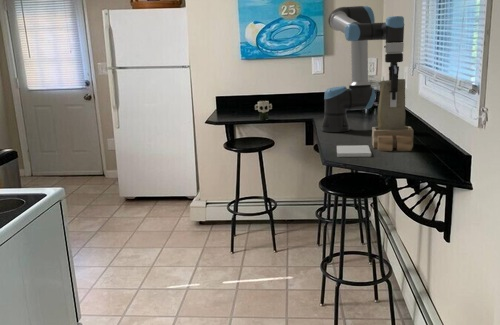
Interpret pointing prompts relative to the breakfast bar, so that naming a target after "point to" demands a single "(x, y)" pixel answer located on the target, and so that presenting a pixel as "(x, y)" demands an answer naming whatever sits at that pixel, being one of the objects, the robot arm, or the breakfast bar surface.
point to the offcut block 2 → (403, 143)
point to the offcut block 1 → (385, 143)
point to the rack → (390, 134)
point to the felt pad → (353, 151)
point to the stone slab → (391, 115)
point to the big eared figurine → (263, 109)
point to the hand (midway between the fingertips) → (392, 106)
